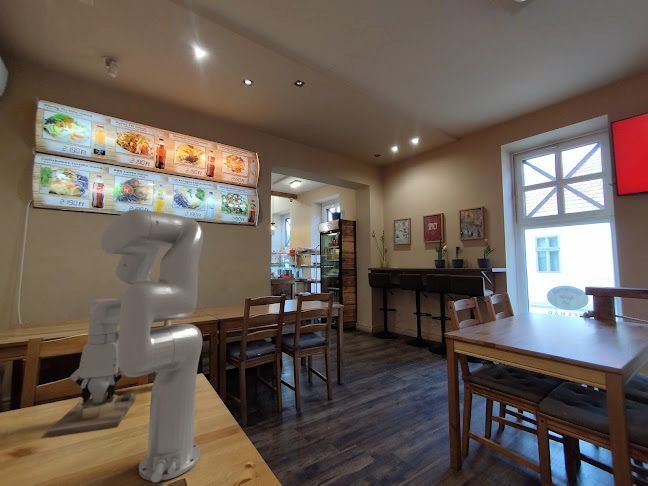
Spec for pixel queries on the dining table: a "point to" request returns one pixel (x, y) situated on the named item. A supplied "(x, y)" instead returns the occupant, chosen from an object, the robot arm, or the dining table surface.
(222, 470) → the dining table surface
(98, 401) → the lightbulb
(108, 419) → the lamp base
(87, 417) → the holder ring
